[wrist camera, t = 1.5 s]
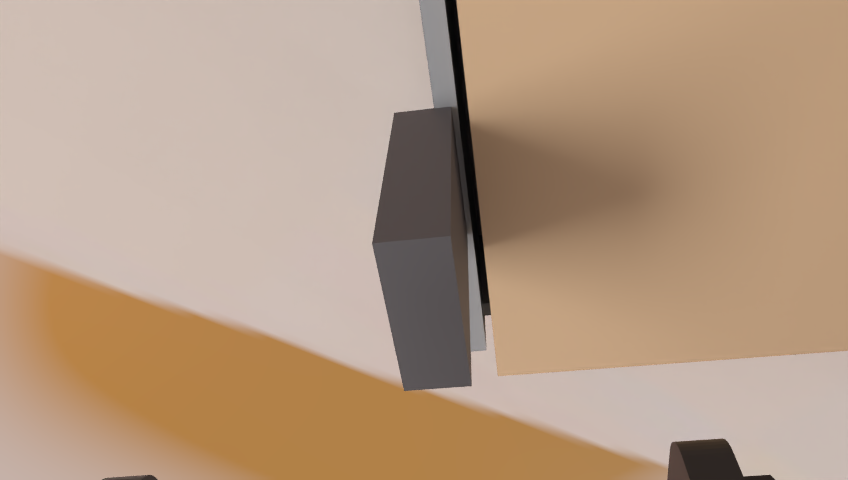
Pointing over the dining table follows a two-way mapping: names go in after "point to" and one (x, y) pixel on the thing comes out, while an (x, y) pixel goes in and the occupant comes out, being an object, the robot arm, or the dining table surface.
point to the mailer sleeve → (660, 178)
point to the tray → (434, 223)
